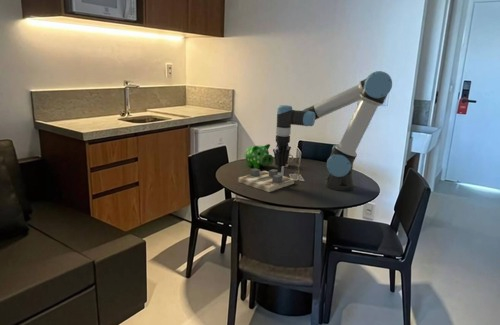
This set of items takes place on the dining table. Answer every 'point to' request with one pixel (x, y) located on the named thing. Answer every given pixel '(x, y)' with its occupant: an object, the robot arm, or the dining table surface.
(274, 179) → the near tab
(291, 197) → the dining table surface
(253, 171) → the far tab
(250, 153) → the piggy bank
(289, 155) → the teacup with lid
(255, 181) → the switch board
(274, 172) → the middle tab
